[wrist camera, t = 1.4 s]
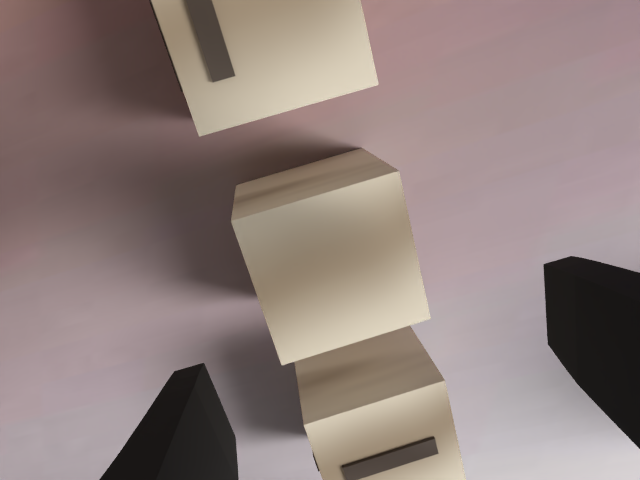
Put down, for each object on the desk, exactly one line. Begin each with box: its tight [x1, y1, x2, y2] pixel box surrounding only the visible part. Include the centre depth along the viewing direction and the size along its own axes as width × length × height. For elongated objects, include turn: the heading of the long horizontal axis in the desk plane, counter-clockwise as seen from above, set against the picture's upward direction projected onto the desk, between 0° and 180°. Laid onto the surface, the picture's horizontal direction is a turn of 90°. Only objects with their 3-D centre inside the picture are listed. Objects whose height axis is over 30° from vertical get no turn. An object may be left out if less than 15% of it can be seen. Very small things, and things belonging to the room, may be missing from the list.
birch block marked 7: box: [149, 0, 379, 137], centre depth 14 cm, size 5×5×5 cm
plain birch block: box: [231, 148, 431, 365], centre depth 17 cm, size 5×5×5 cm
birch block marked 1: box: [294, 326, 466, 480], centre depth 19 cm, size 5×5×5 cm
